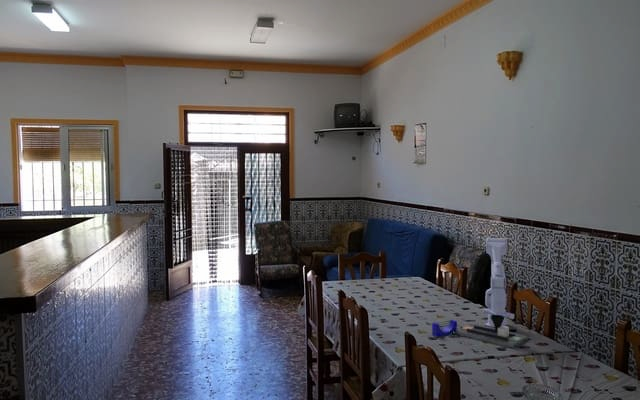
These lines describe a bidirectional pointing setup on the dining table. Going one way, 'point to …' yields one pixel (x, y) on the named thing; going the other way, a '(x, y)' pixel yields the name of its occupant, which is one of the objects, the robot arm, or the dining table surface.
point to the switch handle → (503, 331)
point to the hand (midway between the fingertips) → (497, 331)
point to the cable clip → (444, 329)
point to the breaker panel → (490, 335)
